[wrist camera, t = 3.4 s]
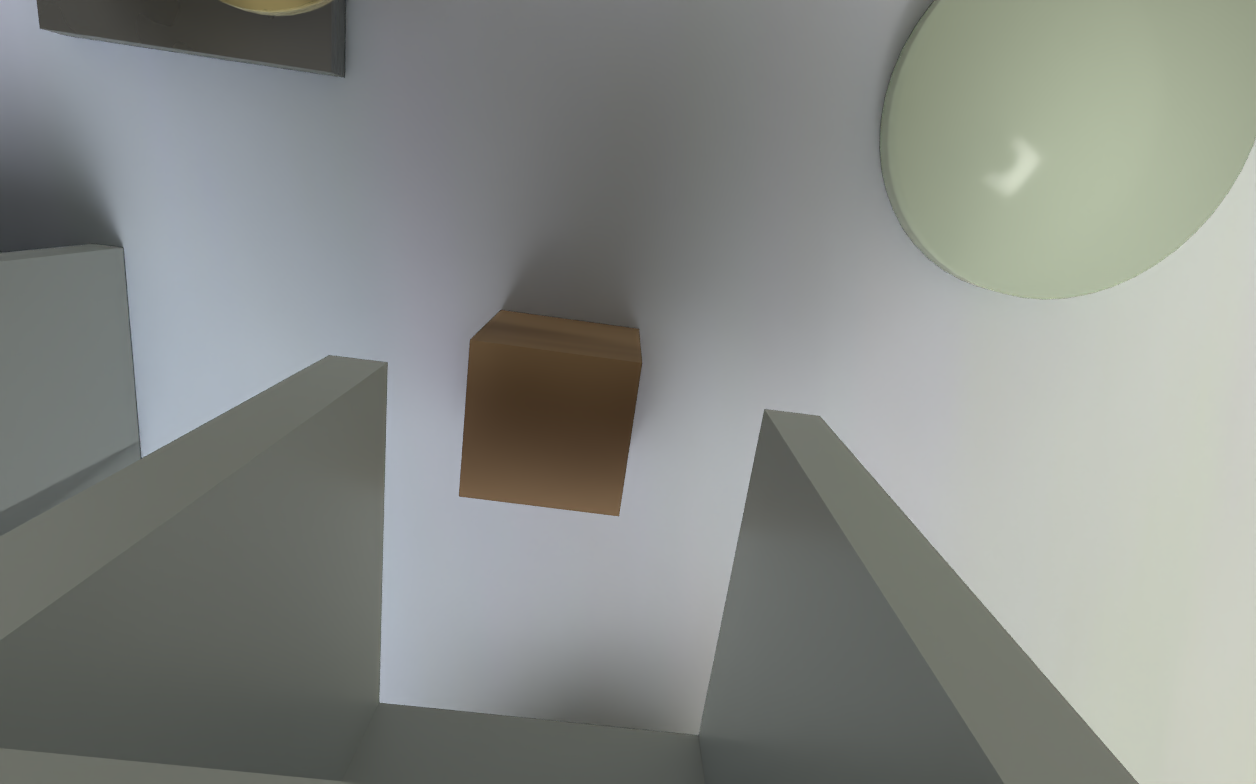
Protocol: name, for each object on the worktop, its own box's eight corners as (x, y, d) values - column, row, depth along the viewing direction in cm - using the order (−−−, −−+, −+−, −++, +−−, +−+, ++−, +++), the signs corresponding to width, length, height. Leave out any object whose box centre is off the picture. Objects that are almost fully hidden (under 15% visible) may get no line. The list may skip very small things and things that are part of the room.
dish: (1149, 312, 19) (1184, 320, 18) (844, 268, 18) (859, 274, 17) (1284, -44, 16) (1334, -62, 15) (932, -104, 16) (956, -127, 15)
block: (620, 454, 20) (619, 516, 16) (490, 438, 20) (458, 496, 16) (638, 328, 19) (642, 363, 15) (501, 309, 19) (469, 339, 15)
